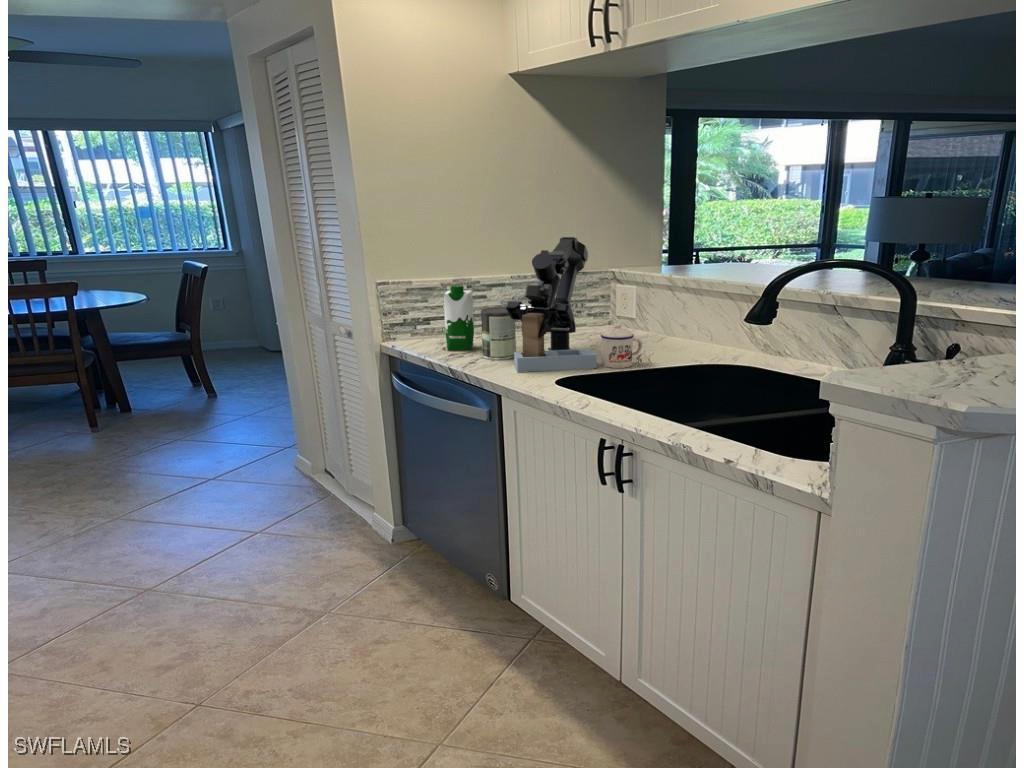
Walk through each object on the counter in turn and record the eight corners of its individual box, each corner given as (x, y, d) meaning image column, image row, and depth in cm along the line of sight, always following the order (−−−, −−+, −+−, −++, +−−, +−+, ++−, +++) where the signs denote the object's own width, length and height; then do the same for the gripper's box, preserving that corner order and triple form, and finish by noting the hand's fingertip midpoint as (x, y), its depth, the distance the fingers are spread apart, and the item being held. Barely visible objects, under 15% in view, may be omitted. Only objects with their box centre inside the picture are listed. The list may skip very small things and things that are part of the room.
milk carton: (444, 351, 239) (441, 287, 234) (449, 345, 247) (446, 283, 242) (472, 351, 238) (469, 287, 233) (476, 345, 246) (474, 283, 241)
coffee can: (475, 358, 228) (473, 311, 225) (494, 351, 237) (492, 306, 233) (504, 361, 223) (503, 313, 220) (522, 354, 232) (521, 308, 228)
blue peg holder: (517, 372, 210) (517, 358, 209) (514, 365, 217) (514, 352, 216) (596, 368, 212) (596, 354, 211) (590, 362, 220) (590, 348, 219)
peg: (529, 356, 216) (528, 312, 213) (544, 357, 215) (543, 313, 211) (523, 360, 213) (522, 315, 209) (537, 361, 211) (537, 316, 207)
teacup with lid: (607, 370, 210) (608, 328, 207) (595, 362, 219) (596, 322, 216) (648, 366, 213) (649, 325, 210) (634, 359, 222) (635, 319, 219)
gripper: (507, 272, 215) (491, 317, 208) (569, 274, 207) (554, 321, 200) (520, 296, 224) (504, 340, 217) (580, 299, 216) (565, 345, 209)
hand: (531, 336), depth 211 cm, fingers closed on peg, 4 cm apart
